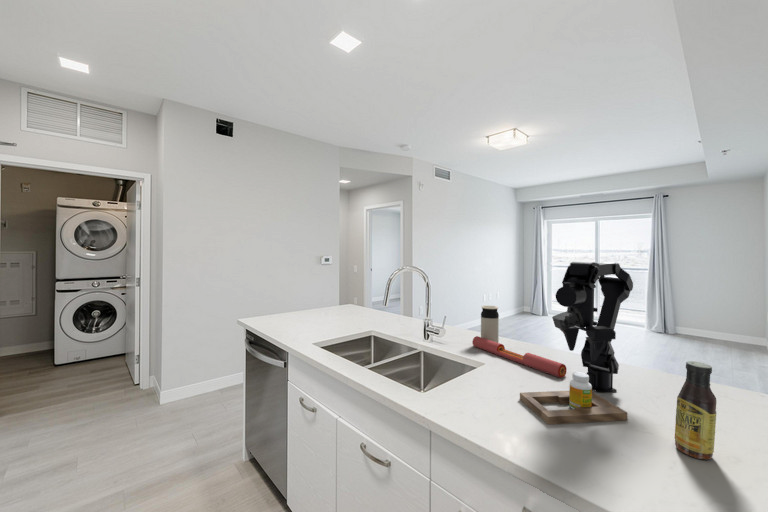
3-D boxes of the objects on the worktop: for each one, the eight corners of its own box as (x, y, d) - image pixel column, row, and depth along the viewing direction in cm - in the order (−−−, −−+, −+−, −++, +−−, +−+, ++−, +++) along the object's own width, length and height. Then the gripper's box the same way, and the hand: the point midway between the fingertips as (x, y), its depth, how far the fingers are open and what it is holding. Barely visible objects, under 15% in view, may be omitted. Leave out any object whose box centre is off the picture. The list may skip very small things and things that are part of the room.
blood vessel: (472, 347, 149) (472, 336, 148) (480, 346, 151) (480, 335, 151) (558, 379, 112) (558, 365, 111) (566, 377, 114) (567, 363, 114)
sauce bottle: (666, 444, 74) (668, 358, 73) (691, 443, 74) (693, 357, 74) (697, 463, 67) (698, 369, 67) (724, 462, 68) (726, 368, 67)
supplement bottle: (584, 415, 87) (584, 379, 87) (565, 406, 92) (565, 372, 91) (595, 410, 89) (596, 376, 89) (576, 402, 94) (576, 369, 94)
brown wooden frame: (588, 396, 98) (588, 389, 98) (627, 420, 84) (627, 412, 84) (519, 399, 96) (519, 392, 96) (548, 424, 82) (548, 416, 82)
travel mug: (500, 347, 148) (501, 308, 148) (483, 347, 148) (483, 308, 148) (495, 342, 156) (495, 305, 156) (478, 342, 156) (479, 305, 156)
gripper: (539, 299, 105) (538, 346, 105) (579, 309, 86) (578, 367, 86) (571, 298, 106) (570, 345, 106) (617, 309, 87) (616, 366, 88)
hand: (581, 355), depth 97 cm, fingers open, 9 cm apart
